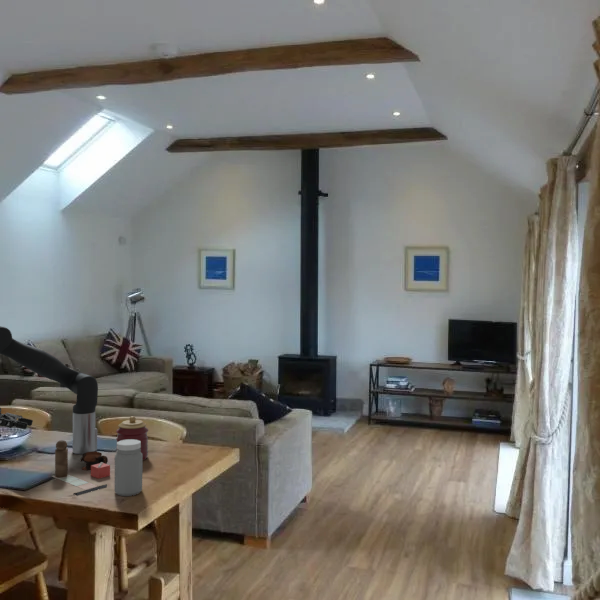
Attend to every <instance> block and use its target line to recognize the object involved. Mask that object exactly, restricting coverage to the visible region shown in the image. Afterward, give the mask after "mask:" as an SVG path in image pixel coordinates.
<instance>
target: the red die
mask: <svg viewBox="0 0 600 600" xmlns="http://www.w3.org/2000/svg"><path fill="white" fill-rule="evenodd" d="M110 476H111V464H108V463H107V464H105V463H103V462H101V463H99V464H95V465H91V470H90V477H93V478H96V479H98V480H99V479H103V478H106V477H110Z"/></svg>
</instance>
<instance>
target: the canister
mask: <svg viewBox="0 0 600 600" xmlns="http://www.w3.org/2000/svg"><path fill="white" fill-rule="evenodd" d="M146 426H147V423H146V422H144V421H143V420H141V419H136V417H135V416H133V415H132V416H130V417H129V418H128V419H127V420H123V421H122V422H121V423H119V424H118V427H119V428H117V429H116V431H115V432H116V433H117V437H116V440H115V441H116V443H117V442H119V441H121V440H126V439H134V440H139V441H141V448H140V449H141V451H140V452H141V453H142V455H143V460H142V461H145V460H146V458H148V457H149V456H148V455H149V450H148V449H149V444H148V443H149V440H148V439H149V436H148V432H149V428H147V427H146ZM117 450H118V449H117V448H116V453H117ZM116 453H115V454H116Z"/></svg>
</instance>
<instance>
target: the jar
mask: <svg viewBox="0 0 600 600" xmlns="http://www.w3.org/2000/svg"><path fill="white" fill-rule="evenodd" d="M140 448H141V441H139V440H134V439H126V440H121V441H119V442H117V441H116V452H117V453H115V454H114V491H113V492H114V493H115V494H116V495H118V496H121V497H133V496H136V494H137V495H138V494H140V493H141V492H142V490H143V461H144V460H143V455H142V453H141V452H140V451H141V449H140ZM117 449H118V450H117ZM132 495H133V496H132Z"/></svg>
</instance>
